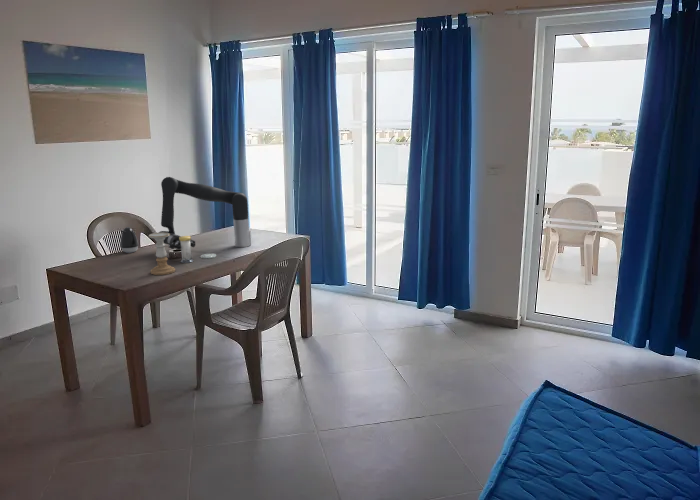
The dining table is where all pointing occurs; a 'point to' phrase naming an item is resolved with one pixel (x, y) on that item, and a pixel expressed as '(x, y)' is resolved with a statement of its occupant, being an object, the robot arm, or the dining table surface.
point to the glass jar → (185, 247)
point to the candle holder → (161, 255)
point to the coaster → (208, 255)
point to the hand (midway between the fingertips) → (187, 246)
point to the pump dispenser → (128, 240)
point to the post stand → (186, 260)
